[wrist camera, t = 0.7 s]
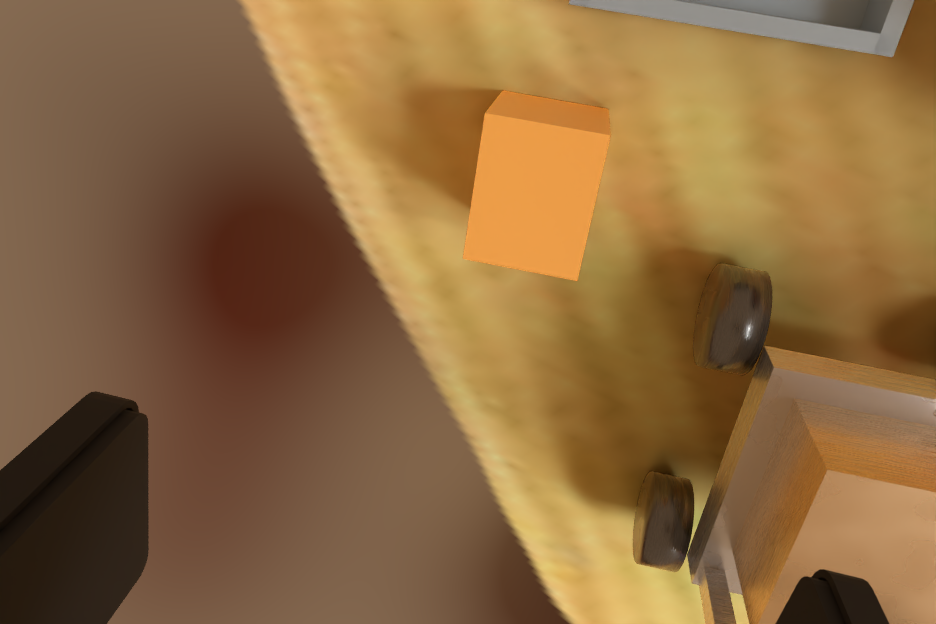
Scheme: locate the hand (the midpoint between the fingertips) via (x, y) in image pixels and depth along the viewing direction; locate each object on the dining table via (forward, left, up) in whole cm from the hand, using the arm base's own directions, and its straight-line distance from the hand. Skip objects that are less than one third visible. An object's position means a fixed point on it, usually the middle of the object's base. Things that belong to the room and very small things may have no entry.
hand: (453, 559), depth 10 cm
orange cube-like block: (0, -1, -21) cm, 21 cm away
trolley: (-13, +8, -21) cm, 25 cm away
